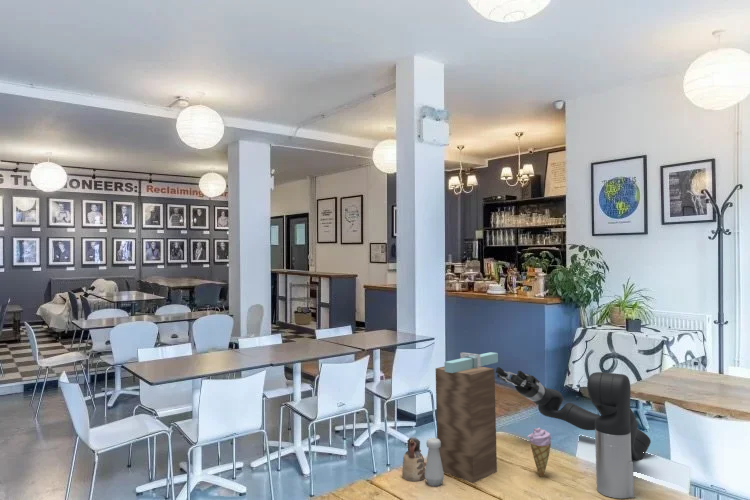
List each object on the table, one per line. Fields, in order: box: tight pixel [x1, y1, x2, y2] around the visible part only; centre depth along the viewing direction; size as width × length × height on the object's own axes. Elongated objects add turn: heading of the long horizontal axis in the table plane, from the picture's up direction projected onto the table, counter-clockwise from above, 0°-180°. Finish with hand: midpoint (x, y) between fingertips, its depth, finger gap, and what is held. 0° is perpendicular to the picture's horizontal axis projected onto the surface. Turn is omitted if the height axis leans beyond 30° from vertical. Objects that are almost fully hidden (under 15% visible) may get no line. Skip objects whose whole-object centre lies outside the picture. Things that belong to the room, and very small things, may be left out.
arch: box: [459, 351, 482, 369], centre depth 165 cm, size 7×2×4 cm, turn 42°
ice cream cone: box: [527, 427, 552, 478], centre depth 157 cm, size 7×6×15 cm
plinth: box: [435, 365, 498, 484], centre depth 162 cm, size 14×12×32 cm
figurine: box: [401, 436, 426, 482], centre depth 158 cm, size 7×7×12 cm
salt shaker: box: [424, 437, 445, 487], centre depth 153 cm, size 6×6×13 cm
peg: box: [443, 351, 499, 373], centre depth 166 cm, size 24×3×3 cm, turn 132°
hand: (507, 371), depth 179 cm, fingers open, 8 cm apart
